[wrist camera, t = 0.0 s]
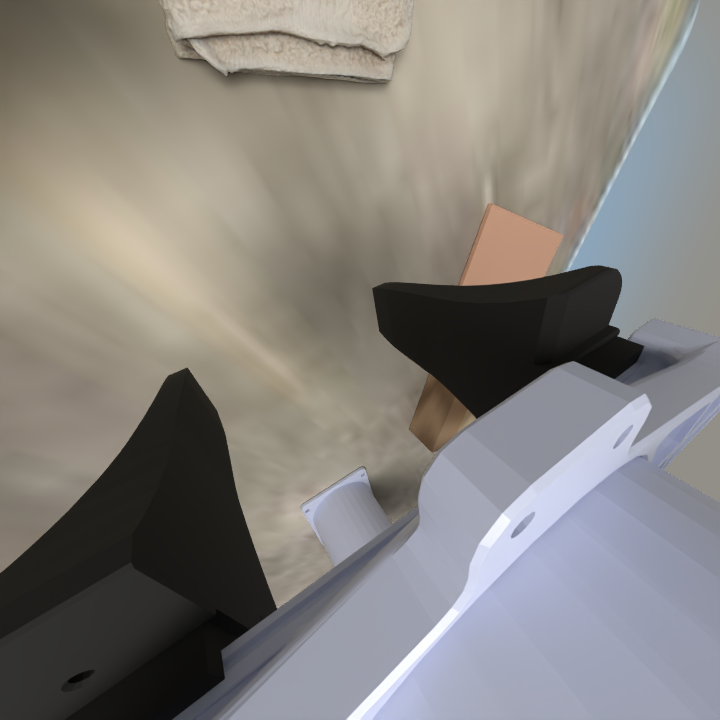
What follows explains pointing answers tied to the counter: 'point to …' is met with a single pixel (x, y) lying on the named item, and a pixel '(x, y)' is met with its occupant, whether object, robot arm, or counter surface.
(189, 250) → the counter surface
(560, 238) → the mat
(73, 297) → the counter surface
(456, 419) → the brown flat block
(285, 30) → the washcloth
